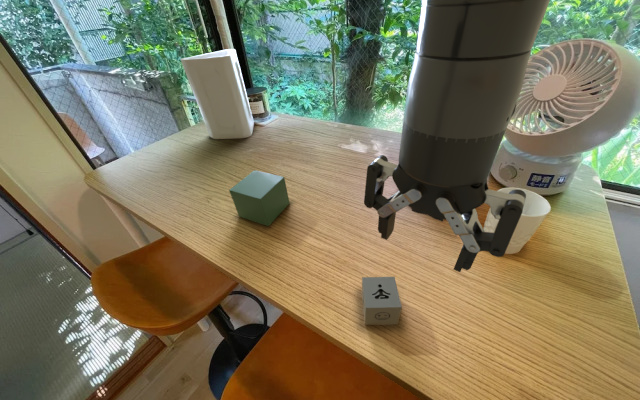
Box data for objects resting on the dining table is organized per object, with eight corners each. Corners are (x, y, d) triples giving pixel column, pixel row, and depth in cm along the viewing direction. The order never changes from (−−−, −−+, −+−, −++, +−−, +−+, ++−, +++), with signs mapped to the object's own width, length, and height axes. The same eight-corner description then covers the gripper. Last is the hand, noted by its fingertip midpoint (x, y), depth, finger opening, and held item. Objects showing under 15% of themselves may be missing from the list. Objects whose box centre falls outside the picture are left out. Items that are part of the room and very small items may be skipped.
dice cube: (364, 324, 39) (365, 307, 36) (361, 294, 43) (362, 277, 40) (398, 324, 38) (401, 307, 35) (391, 294, 42) (394, 276, 39)
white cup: (517, 229, 51) (539, 189, 45) (532, 260, 45) (560, 218, 39) (473, 224, 53) (489, 185, 47) (482, 253, 47) (501, 213, 41)
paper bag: (227, 145, 95) (198, 61, 77) (209, 136, 103) (179, 59, 86) (268, 128, 104) (250, 50, 87) (248, 120, 113) (229, 48, 96)
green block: (268, 226, 58) (260, 199, 53) (239, 216, 62) (228, 190, 57) (289, 203, 64) (284, 176, 59) (261, 195, 68) (254, 169, 63)
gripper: (351, 117, 22) (352, 244, 32) (568, 155, 14) (480, 306, 24) (390, 92, 26) (380, 211, 36) (570, 112, 19) (495, 254, 29)
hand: (420, 249), depth 30 cm, fingers open, 8 cm apart
